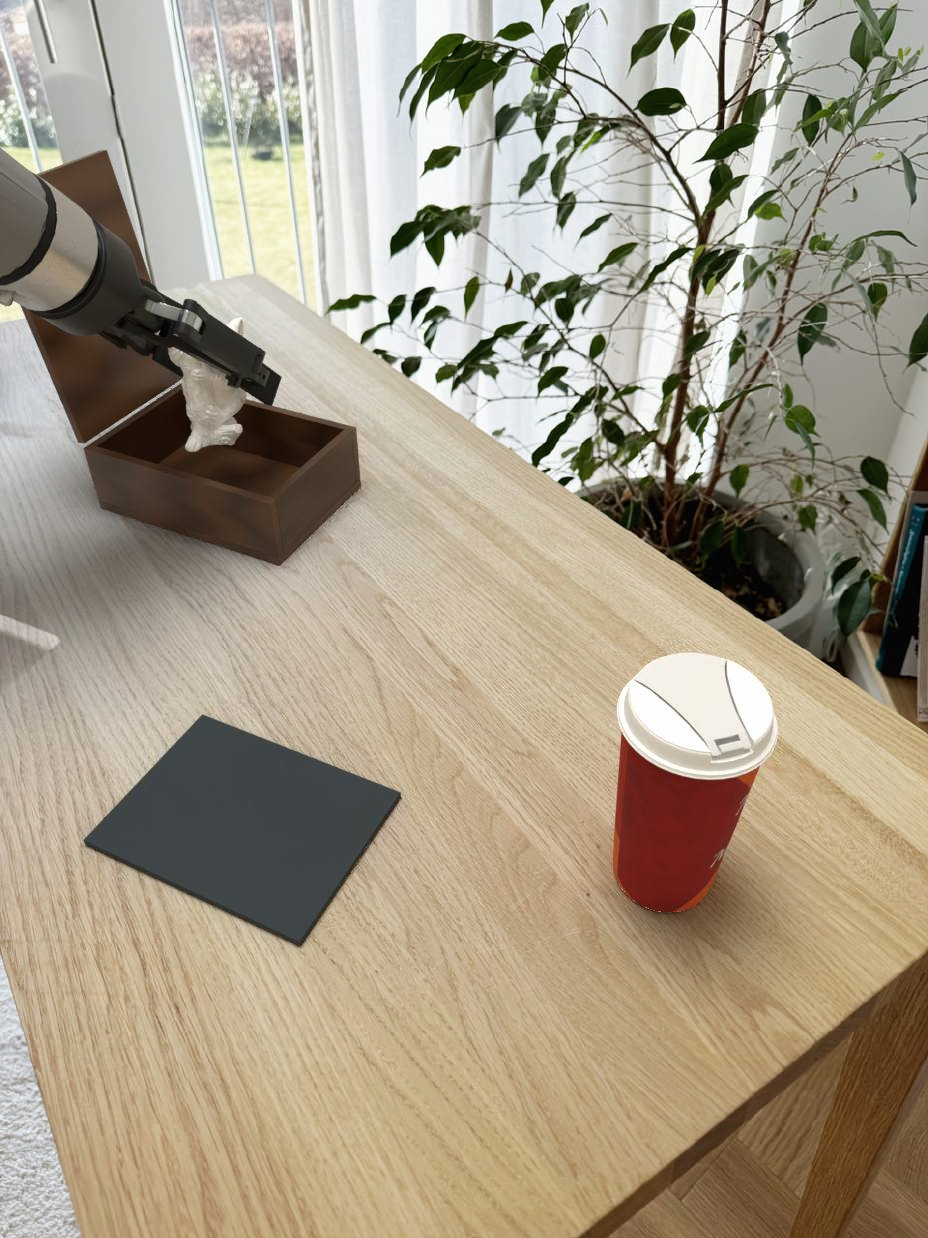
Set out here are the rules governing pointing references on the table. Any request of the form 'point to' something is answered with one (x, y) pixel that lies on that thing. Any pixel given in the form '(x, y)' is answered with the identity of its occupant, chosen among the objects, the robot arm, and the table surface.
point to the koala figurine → (209, 399)
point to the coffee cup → (685, 773)
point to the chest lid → (91, 365)
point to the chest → (228, 475)
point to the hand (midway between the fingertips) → (237, 381)
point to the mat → (246, 826)
